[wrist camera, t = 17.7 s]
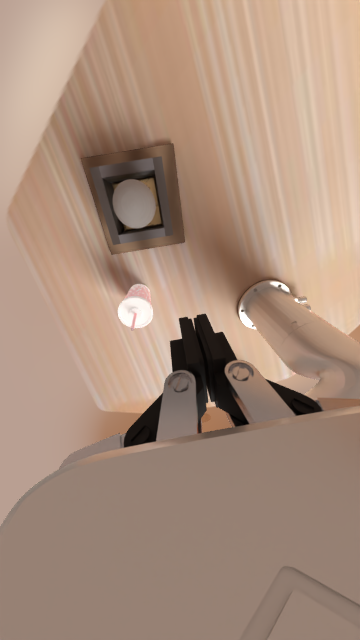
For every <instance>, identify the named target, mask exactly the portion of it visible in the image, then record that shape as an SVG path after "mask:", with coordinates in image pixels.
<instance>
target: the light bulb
mask: <svg viewBox="0 0 360 640" xmlns="http://www.w3.org/2000/svg"><path fill="white" fill-rule="evenodd" d="M113 208H114V211H115V213H116V215H117V217H118V218H119V220H120V221H121V222H122V223H123V224H125V225H126V226H128V227H131V228H142V227H145V226H146V225H148V224H149V223H150V222H151V221H152V219H153V217H154V215H155V210H156V203H155V199H154V196H153V194H152V192H151V190H150V189H149V188H148V187H147V186H146V185H145V184H144V183H142V182H141V181H138V180H135V179H128V180H125V181H123V182H121V183H120V184H119V185H118V186H117V187H116V189H115V191H114V194H113Z"/></svg>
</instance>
